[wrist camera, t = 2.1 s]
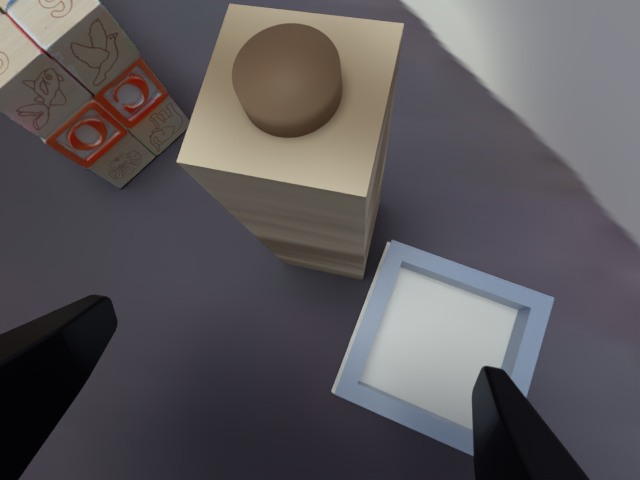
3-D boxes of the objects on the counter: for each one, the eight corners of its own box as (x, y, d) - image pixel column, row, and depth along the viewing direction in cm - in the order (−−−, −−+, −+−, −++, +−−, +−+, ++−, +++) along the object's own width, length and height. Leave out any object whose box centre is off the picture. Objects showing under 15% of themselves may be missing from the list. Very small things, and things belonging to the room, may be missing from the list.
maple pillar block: (363, 280, 21) (366, 182, 8) (283, 262, 22) (159, 146, 8) (379, 202, 22) (407, -5, 9) (302, 188, 23) (218, -24, 9)
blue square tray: (489, 459, 18) (509, 478, 16) (332, 389, 20) (328, 396, 17) (535, 300, 20) (560, 295, 17) (386, 246, 21) (389, 234, 19)
